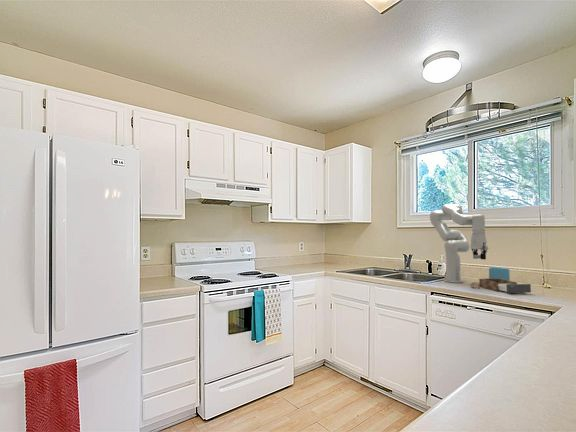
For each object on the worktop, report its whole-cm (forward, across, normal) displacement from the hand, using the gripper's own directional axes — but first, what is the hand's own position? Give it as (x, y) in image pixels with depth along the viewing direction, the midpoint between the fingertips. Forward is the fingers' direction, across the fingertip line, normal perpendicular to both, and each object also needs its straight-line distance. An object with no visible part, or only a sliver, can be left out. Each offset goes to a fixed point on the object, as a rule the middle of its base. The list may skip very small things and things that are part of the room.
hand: (479, 258), depth 209 cm
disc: (0, 0, 0) cm, 0 cm away
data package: (+20, -14, +25) cm, 35 cm away
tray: (+19, +11, +11) cm, 25 cm away
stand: (+20, -2, -2) cm, 20 cm away
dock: (+20, +2, +11) cm, 23 cm away
